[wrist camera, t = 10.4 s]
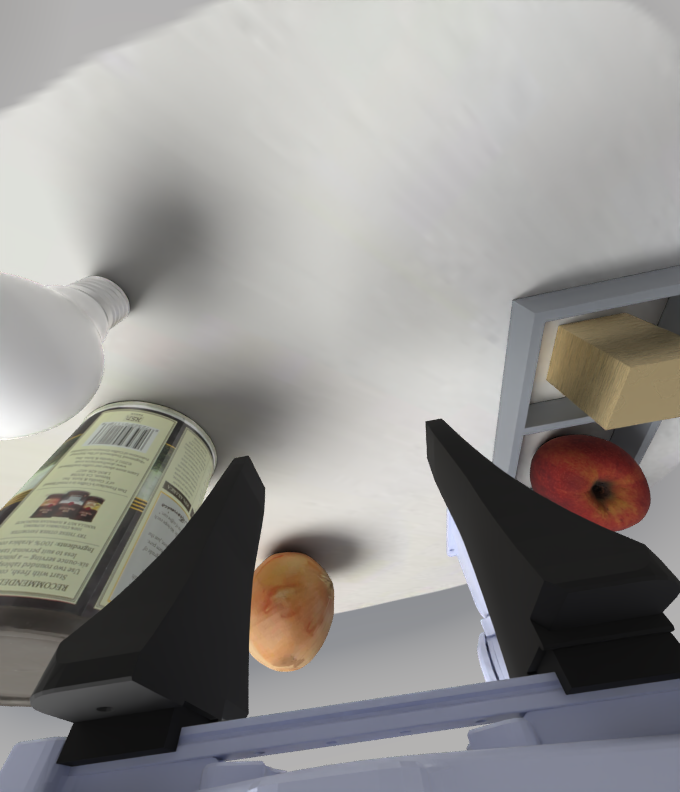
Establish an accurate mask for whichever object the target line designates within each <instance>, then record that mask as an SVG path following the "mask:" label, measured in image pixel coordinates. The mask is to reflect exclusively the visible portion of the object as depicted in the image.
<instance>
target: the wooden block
mask: <svg viewBox="0 0 680 792" xmlns="http://www.w3.org/2000/svg"><path fill="white" fill-rule="evenodd" d="M546 380H547V381H548V382H549V383H550V384H552V385H553V386H554V387H555V388H556V389H558V390H559V391H560V392H561V393H562V394H563V395H565V396H566V397H567V398H568V399H569V400H571V401H572V402H573V403H574V404H575V405H576V406H578V407H579V408H580V409H581V410H582V411H584V412H585V413H586V414H587V415H588V416H589V417H591V418H592V419H593V420H594V421H595V422H597V423H598V424H599V425H600V426H601V427H602V428H604V429H605V430H610V429H615V428H621V427H626V426H632V425H637V424H643V423H648V422H654V421H659V420H665V419H671V418H676V417H680V335H677V334H675V333H673V332H670V331H668V330H665V329H663V328H661V327H658V326H656V325H653V324H651V323H649V322H646V321H644V320H641V319H639V318H637V317H634V316H632V315H629V314H627V313H621V314H616V315H611V316H605V317H600V318H595V319H590V320H585V321H580V322H575V323H570V324H565V325H560V326H558V331H557V335H556V339H555V344H554V348H553V352H552V357H551V361H550V366H549V370H548V374H547V379H546Z"/></svg>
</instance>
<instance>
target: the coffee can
mask: <svg viewBox="0 0 680 792" xmlns="http://www.w3.org/2000/svg"><path fill="white" fill-rule="evenodd" d="M216 462H217V455H216V450H215V447H214V445H213V443H212V441H211V439H210V437H209V436H208V435H207V434H206V433H205V432H204V431H203V429H202V428H201V427H200V426H198V425H197V424H196V423H195V422H194V421H193V420H191V419H189V418H188V417H186V416H185V415H183V414H181V413H179V412H177V411H175V410H173V409H170V408H168V407H164V406H160V405H156V404H152V403H146V402H137V401H128V402H118V403H112V404H108V405H105V406H103V407H101V408H98V409H96V410H95V411H93V412H92V413H91V414H90V415H88V416H87V417H86V419H85V420H84V421H83V423H82V424H81V425H80V427H79V428H78V429H77V430H76V431H75V432H74V433H73V434H72V435H71V436H70V437H69V438H68V439H67V440H66V441H65V442H64V443H63V444H62V446H61V447H60V448H59V449H58V450H57V451H56V452H55V453H54V454H53V455H52V456H51V457H50V458H49V459H48V460H47V462H46V463H45V464H44V465H43V466H42V467H41V468H40V469H39V470H38V471H37V472H36V473H35V474H34V475H33V476H32V477H31V478H30V479H29V480H28V482H27V483H26V484H25V485H24V486H23V487H22V488H21V489H20V490H19V491H18V492H17V493H16V494H15V495H14V496H13V497H12V498H11V499H10V501H9V502H8V503H7V504H6V505H5V506H4V507H3V508H2V509H1V510H0V706H26V707H31V704H30V697H31V695H32V693H33V691H34V689H35V688H36V686H37V684H38V682H39V680H40V679H41V677H42V675H43V673H44V671H45V669H46V668H47V666H48V664H49V662H50V660H51V659H52V657H53V655H54V653H55V651H56V650H57V648H58V646H59V644H60V643H61V642H62V641H63V640H64V639H66V638H67V637H68V636H69V635H71V634H72V633H73V632H74V631H76V630H77V629H78V628H79V627H81V626H82V625H83V624H84V623H86V622H87V621H88V620H89V619H90V618H92V617H93V616H94V615H95V614H97V613H98V612H99V611H100V610H101V609H103V608H104V607H105V606H106V605H107V604H108V603H110V602H111V601H112V600H113V599H114V598H115V597H116V596H117V595H119V594H120V593H121V592H122V591H123V590H124V589H125V588H126V587H127V586H129V585H130V584H131V583H132V582H133V581H134V580H135V579H136V578H137V577H138V576H139V575H140V574H141V573H142V572H143V571H144V570H145V569H146V568H147V567H148V566H149V565H150V564H151V563H152V562H153V561H154V560H155V559H156V558H157V557H158V556H159V555H160V554H161V553H162V552H163V551H164V550H165V549H166V547H167V546H168V545H169V544H170V543H171V542H172V541H173V540H174V539H175V537H176V536H177V535H178V534H179V533H180V532H181V530H182V529H183V528H184V527H185V525H186V524H187V523H188V522H189V520H190V519H191V518H192V516H193V515H194V514H195V513H196V511H197V510H198V509H199V507H200V506H201V505H202V502H203V499H204V496H205V493H206V490H207V487H208V484H209V481H210V478H211V476H212V474H213V472H214V470H215V467H216Z"/></svg>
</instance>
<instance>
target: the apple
mask: <svg viewBox="0 0 680 792" xmlns="http://www.w3.org/2000/svg"><path fill="white" fill-rule="evenodd" d="M530 481H531V485H532V488H533V490H534V491H535V492H536V493H538V494H540V495H541V496H543V497H545V498H547V499H549V500H551V501H552V502H554V503H556V504H558V505H560V506H562V507H563V508H565V509H567V510H569V511H571V512H573V513H575V514H577V515H579V516H581V517H583V518H585V519H587V520H589V521H592V522H594V523H596V524H598V525H600V526H602V527H604V528H607V529H609V530H612V531H614V532H615V531H620V530H624V529H626V528H629V527H631V526H633V525H635V524H637V523H638V522H640V521H641V520H642V519H643V518H644V517H645V515H646V513H647V511H648V509H649V506H650V500H651V499H650V490H649V486H648V483H647V480H646V478H645V475H644V474H643V472H642V470H641V468H640V467H639V465H638V464H637V462H636V461H635V460H634V459H633V458H632V457H631V456H630V455H629V454H628V453H627V452H626V451H625V450H623V449H622V448H620V447H619V446H617V445H616V444H614V443H612V442H610V441H607V440H605V439H601V438H598V437H593V436H588V435H566V436H561V437H557V438H554V439H552V440H550V441H548V442H546V443H545V444H543V445H542V446H541V447H540V448H539V449H538V450H537V452H536V453H535V455H534V457H533V459H532V462H531V467H530Z"/></svg>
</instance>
